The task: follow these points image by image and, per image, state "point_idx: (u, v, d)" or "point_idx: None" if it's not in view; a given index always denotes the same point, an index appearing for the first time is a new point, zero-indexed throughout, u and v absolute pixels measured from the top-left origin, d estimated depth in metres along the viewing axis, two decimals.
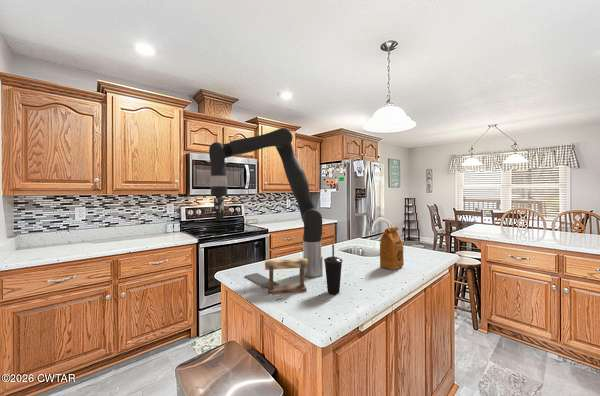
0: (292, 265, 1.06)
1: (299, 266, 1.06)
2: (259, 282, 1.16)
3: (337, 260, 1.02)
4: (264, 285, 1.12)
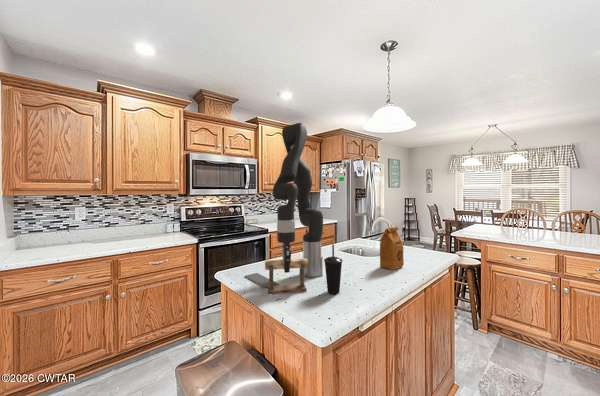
0: (292, 265, 1.06)
1: (299, 266, 1.06)
2: (259, 282, 1.16)
3: (337, 260, 1.02)
4: (264, 285, 1.12)
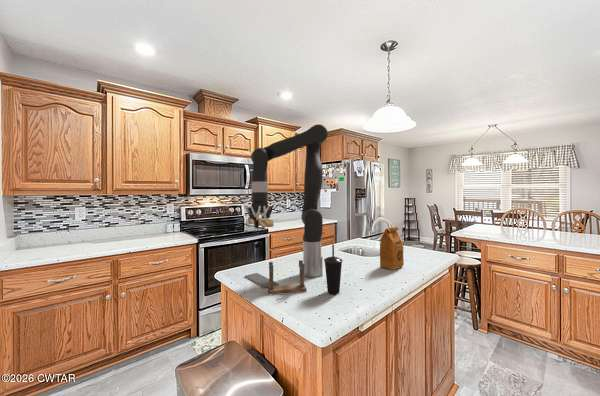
0: (260, 223, 1.16)
1: (263, 225, 1.14)
2: (259, 282, 1.16)
3: (337, 260, 1.02)
4: (264, 285, 1.12)
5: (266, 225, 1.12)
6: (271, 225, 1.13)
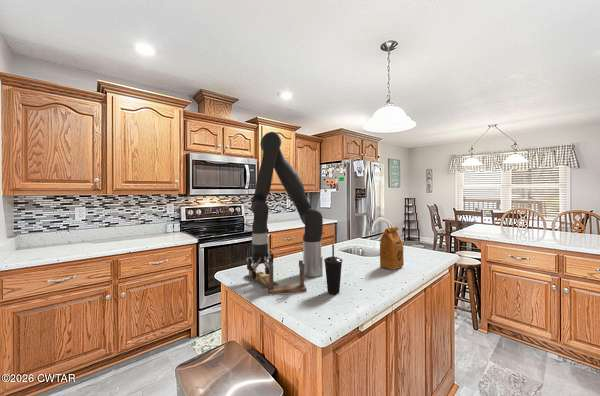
0: (260, 279, 1.17)
1: (263, 281, 1.15)
2: (259, 282, 1.16)
3: (337, 260, 1.02)
4: (264, 285, 1.12)
5: (266, 283, 1.13)
6: None
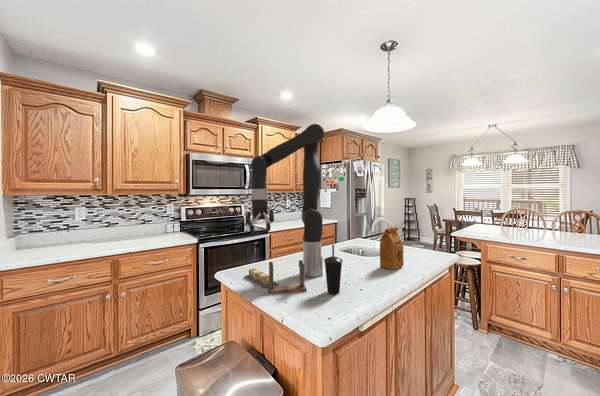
0: (260, 279, 1.17)
1: (263, 281, 1.15)
2: (259, 282, 1.16)
3: (337, 260, 1.02)
4: (264, 285, 1.12)
5: (266, 283, 1.13)
6: None
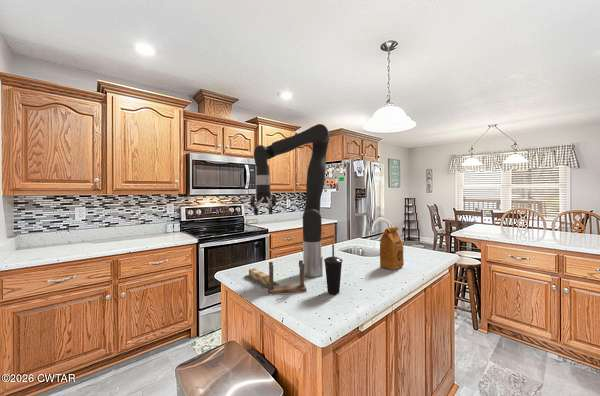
0: (260, 279, 1.17)
1: (263, 281, 1.15)
2: (259, 282, 1.16)
3: (337, 260, 1.02)
4: (264, 285, 1.12)
5: (266, 283, 1.13)
6: None
